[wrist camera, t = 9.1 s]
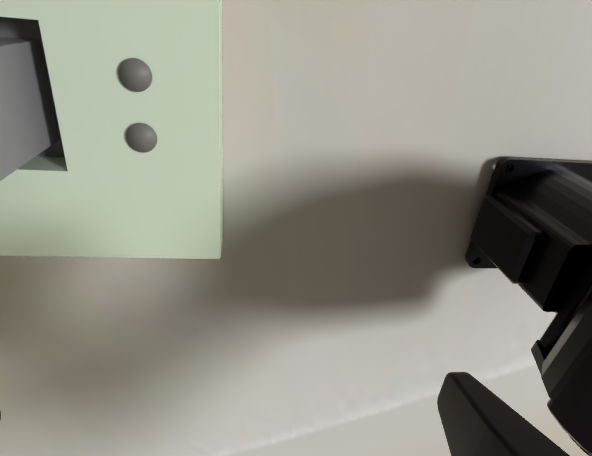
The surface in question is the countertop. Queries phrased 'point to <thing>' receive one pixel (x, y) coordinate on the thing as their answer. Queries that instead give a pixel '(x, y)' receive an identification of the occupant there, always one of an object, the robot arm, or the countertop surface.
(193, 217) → the outlet plate
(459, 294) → the countertop surface
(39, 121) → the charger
